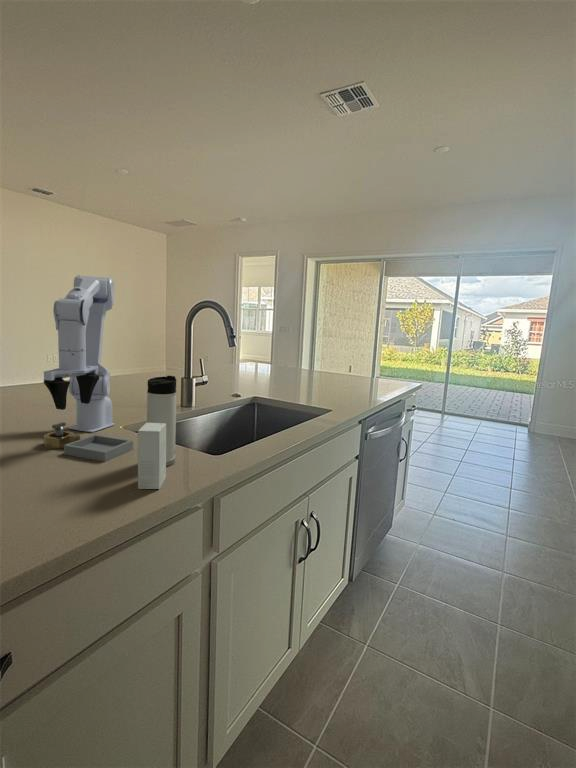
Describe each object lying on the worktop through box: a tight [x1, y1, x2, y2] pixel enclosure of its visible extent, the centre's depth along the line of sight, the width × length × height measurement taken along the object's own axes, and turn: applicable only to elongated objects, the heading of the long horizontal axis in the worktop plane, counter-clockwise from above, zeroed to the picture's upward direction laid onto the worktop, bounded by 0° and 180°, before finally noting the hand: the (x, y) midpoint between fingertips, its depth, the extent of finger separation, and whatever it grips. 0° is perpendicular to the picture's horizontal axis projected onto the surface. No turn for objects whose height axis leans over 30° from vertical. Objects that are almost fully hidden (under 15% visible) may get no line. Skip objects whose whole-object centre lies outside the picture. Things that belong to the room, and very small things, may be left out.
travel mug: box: [146, 375, 177, 467], centre depth 90 cm, size 6×7×20 cm
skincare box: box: [137, 422, 167, 490], centre depth 79 cm, size 6×4×12 cm
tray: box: [63, 433, 134, 463], centre depth 95 cm, size 10×11×2 cm
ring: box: [43, 430, 81, 450], centre depth 98 cm, size 6×9×3 cm
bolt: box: [51, 421, 67, 437], centre depth 98 cm, size 3×2×5 cm, turn 165°
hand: (73, 406), depth 96 cm, fingers open, 7 cm apart
